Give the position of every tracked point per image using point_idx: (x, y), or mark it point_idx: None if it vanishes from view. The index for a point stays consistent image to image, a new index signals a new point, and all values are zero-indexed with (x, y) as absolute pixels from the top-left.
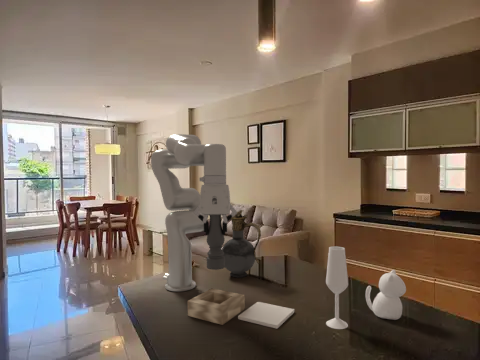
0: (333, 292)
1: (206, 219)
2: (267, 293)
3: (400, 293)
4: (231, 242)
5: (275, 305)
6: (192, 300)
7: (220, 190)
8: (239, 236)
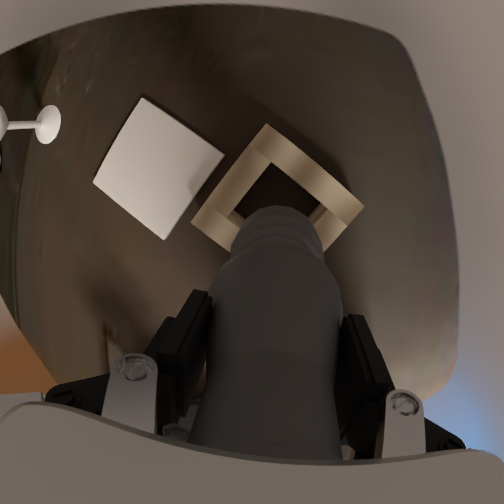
0: (7, 120)
1: (389, 421)
2: (141, 300)
3: None
4: None
5: (126, 209)
6: (350, 206)
7: None
8: None
